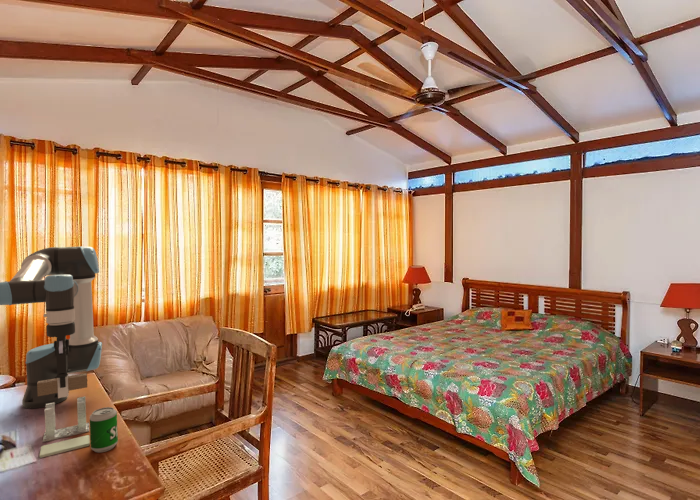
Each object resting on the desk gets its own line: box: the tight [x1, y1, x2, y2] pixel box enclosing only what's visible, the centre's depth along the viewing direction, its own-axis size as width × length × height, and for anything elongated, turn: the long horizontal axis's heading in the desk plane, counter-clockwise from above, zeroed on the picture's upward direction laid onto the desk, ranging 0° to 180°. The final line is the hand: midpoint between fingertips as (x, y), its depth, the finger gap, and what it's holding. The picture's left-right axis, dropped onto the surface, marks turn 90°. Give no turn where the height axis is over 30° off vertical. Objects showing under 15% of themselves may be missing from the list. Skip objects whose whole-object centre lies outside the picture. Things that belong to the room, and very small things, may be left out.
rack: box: [42, 395, 90, 443], centre depth 141 cm, size 7×13×10 cm, turn 123°
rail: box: [37, 372, 88, 396], centre depth 131 cm, size 13×3×4 cm, turn 123°
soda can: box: [89, 406, 119, 453], centre depth 130 cm, size 8×8×12 cm
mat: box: [38, 434, 91, 459], centre depth 131 cm, size 7×13×1 cm, turn 123°
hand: (63, 395), depth 131 cm, fingers closed on rail, 3 cm apart
